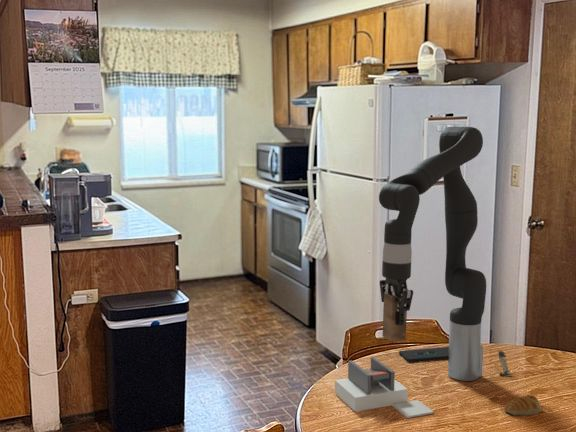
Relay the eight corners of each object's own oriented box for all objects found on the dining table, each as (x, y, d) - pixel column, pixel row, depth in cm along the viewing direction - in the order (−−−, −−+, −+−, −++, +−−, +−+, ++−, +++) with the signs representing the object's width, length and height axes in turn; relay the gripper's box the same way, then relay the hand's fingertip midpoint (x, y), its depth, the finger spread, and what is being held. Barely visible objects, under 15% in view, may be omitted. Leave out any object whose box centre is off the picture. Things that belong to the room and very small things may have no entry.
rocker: (369, 373, 199) (368, 368, 199) (389, 377, 188) (388, 372, 188) (353, 376, 198) (353, 371, 198) (372, 380, 186) (372, 375, 186)
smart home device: (398, 350, 229) (454, 345, 233) (398, 355, 229) (453, 350, 233) (408, 359, 221) (465, 354, 225) (408, 364, 221) (465, 359, 225)
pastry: (515, 419, 181) (516, 405, 180) (498, 409, 187) (498, 396, 186) (543, 413, 184) (544, 399, 184) (525, 403, 190) (526, 390, 190)
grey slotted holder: (384, 385, 203) (385, 354, 201) (407, 402, 191) (408, 370, 189) (334, 393, 197) (335, 361, 196) (355, 411, 185) (355, 378, 184)
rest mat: (417, 401, 191) (417, 400, 191) (433, 413, 184) (433, 411, 184) (392, 406, 188) (392, 404, 188) (407, 418, 181) (407, 416, 181)
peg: (397, 334, 188) (398, 291, 186) (405, 339, 184) (407, 295, 182) (382, 336, 186) (384, 292, 184) (390, 341, 182) (392, 296, 180)
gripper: (424, 264, 177) (421, 328, 179) (395, 253, 190) (393, 314, 192) (398, 265, 174) (395, 331, 176) (371, 255, 187) (369, 316, 189)
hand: (394, 322), depth 184 cm, fingers closed on peg, 4 cm apart
